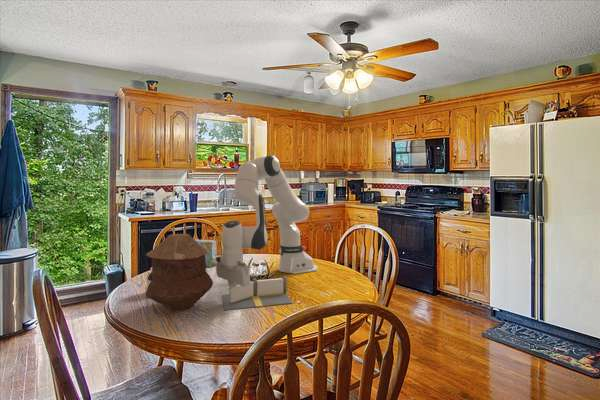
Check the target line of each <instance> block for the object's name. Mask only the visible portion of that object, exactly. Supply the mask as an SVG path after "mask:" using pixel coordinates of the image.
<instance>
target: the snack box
mask: <svg viewBox="0 0 600 400" xmlns="http://www.w3.org/2000/svg"><path fill="white" fill-rule="evenodd" d="M193 239H194V240H195V241H196V242H197V243H198V244H199V245H201V246H202V247H203V248H205V249H206V250H207V251H208V253H207V254H205V262H206V268H214V267H216V263H217V262H216V257H217V240H210V239H196V238H193Z"/></svg>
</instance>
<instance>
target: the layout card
mask: <svg viewBox="0 0 600 400" xmlns="http://www.w3.org/2000/svg"><path fill="white" fill-rule="evenodd" d="M221 297H222V305H223V309H224V311H233V310H243V309H253V308H254V307H255V308H262V307H263V308H264V307H274V306H281V305H291V304H293V301H292V299H290V297H289V296H288V295H287V292H286V293H283V292H282V293H271V294H261V295H258V294H257V296H251V297H248V298H245V299H242V300H239V301H236V302H233V303H230V302H229V293H226V294H221Z"/></svg>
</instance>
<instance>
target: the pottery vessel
mask: <svg viewBox="0 0 600 400" xmlns="http://www.w3.org/2000/svg"><path fill="white" fill-rule="evenodd" d="M194 239H195V238H193V237H192V235H190V234H188V233H176V234H175V233H173V234H169V235H168V236H166V237H165V238H164V239H163V240H162V241H160V242H159V244H158V245H157V246H156V247H154V248H153V249H152V250H150V251H149V252H147V253H146V254H145V256H146V257H149V258H151V268H152V281H151V282H150V284H149V286H148V288H147V287H146V296H147V298H148V299H150V300H151V301H154V302H155V303H157V304H160V305H162V306H165V307H168V308H170V310H171V311H174V312H185V311H188V310H190V309H192V308H194V307H195V305H196V304H197V303H198V302H199V301H200V300H201V299H202V298H203V297H204V296H205V295H206V294H207V293H208V292H210V290H211V289H212V287H213V285H214V281H213V279H212V277H211V276H210V275H209V273H208V272H207V267H206V262H205V254H207V253H208V251H207V250H206V249H205V248H203V247H202V246H201V245H199V244H198V243H197V242H196V241H195V240H194Z"/></svg>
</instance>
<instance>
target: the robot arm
mask: <svg viewBox="0 0 600 400" xmlns="http://www.w3.org/2000/svg"><path fill="white" fill-rule="evenodd" d="M281 166H282V165H281V162H280V160H279V159H278V158H277V157H276V156H275V155H266V156H260V157H256V158H254V159H251V160H248V161H244V162H243V163H242V164H240V165H239V168H238V170H237V173H236V178H235V182H234V187H233V188H234V189H233V192H234V195H235V197H236V198H237V200H239V201H240V202H241V203H243V204H245V205H248V206H250V207H252V208H254V209H255V225H254V226H242V223H241V222H240V221H238V220H230V221H229V220H228V221H226V222H225V223H223V225H222V229H221V230H222V231H221V245H222V251H221V255H218V256H216V262H217V263H216V266H215V269H216V270H215V271H216V276H217V277H218V278H220V279H222V280H226V281H227V284H228V286H229V287H233V286H237V285H240V286H247V285H249V284H250V281H251V274H250V268H249V267H248V265H247V264H246V263H244V250H243V249H250V250H251V249H252V250H260V251H261V250H262V249H264V248H265V247H266V246H267V245H268V239H269V237H268V232H267V223H266V222H267V219H266V206H265V199H264V196H263V195H262V194H261V193H260V192H259V181H262V180H264V181H265V184H266V186H267V188H268V190H269V192H270V194H271V196H272V198H273V199H274V200H275V201H276V202H275V203H274V204H273V205H272V208H271V212H272V214H273V216H274V217H275V219H276V221H277V224H278V227H279V233H280V245H279V255H280V257H279V263H278V268H277V270H278V272H282V273H288V274H292V275H295V274H304V273H309V272H316V271H318V266H317V265H315V263H314V260H313V258H312V256H310V255H309V254H308V253H307V252H305V251H306V249H307V247H306V246H305V245H302V244H301V230H300V229H299V228H298V226H297V225H296V223H299V222H301V223H302V222H305V221H306V220H307V219H308V218H309V216H310V208H309V205H308V204H306V203H304V202H303V201H302V200H301V199H300V198H299V197H298V196H297V194H296V193H295V192H294V191H293V189H292V187H291V186H290V183H289V181H288V179H287V177H286V174H285V173H284V171H283V169H282V168H281ZM229 287H228V288H229Z"/></svg>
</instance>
